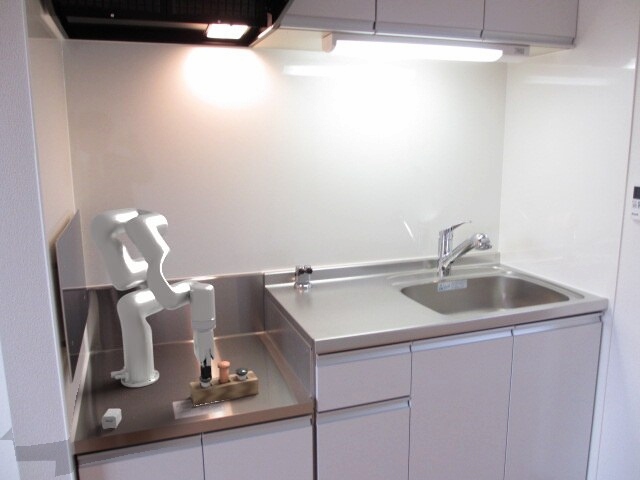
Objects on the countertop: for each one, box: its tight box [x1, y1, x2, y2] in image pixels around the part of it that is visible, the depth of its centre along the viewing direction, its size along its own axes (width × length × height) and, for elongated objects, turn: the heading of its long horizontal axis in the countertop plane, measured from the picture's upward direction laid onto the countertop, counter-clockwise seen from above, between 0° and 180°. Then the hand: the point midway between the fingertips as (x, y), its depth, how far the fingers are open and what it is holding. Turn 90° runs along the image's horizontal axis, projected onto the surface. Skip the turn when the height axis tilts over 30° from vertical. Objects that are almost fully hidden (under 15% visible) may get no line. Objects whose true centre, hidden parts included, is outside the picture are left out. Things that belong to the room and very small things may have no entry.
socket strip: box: [189, 370, 259, 407], centre depth 168 cm, size 21×7×5 cm, turn 115°
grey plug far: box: [235, 367, 249, 381], centre depth 170 cm, size 4×4×7 cm
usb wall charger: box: [101, 408, 122, 430], centre depth 152 cm, size 4×7×4 cm, turn 2°
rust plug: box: [217, 360, 231, 384], centre depth 167 cm, size 4×4×7 cm
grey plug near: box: [198, 375, 213, 388], centre depth 165 cm, size 4×4×7 cm
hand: (206, 377), depth 164 cm, fingers closed
